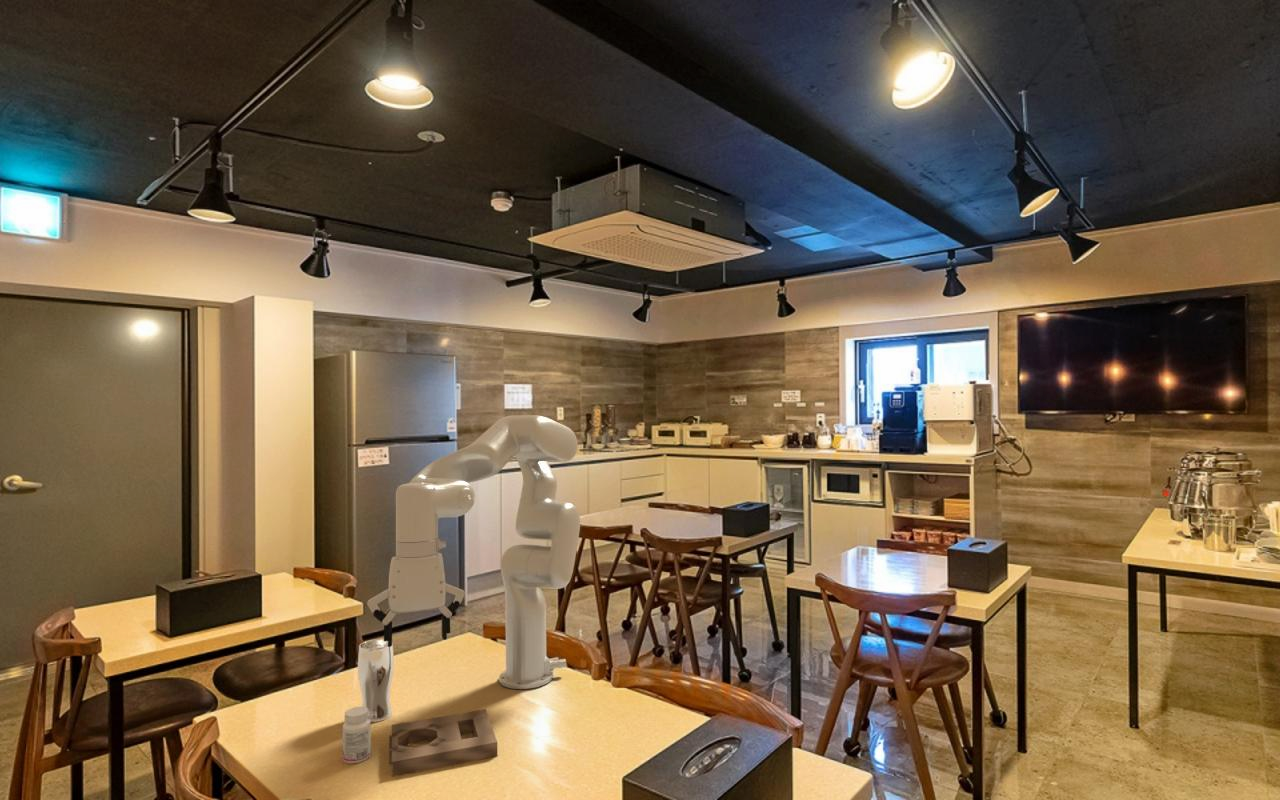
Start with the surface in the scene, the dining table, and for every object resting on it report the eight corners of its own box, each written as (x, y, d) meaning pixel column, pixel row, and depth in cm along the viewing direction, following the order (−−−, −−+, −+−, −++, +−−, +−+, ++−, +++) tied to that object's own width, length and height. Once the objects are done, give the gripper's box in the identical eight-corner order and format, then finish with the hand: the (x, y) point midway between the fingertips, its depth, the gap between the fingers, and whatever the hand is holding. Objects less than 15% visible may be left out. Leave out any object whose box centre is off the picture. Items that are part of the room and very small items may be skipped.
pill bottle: (348, 751, 122) (348, 705, 122) (374, 750, 122) (374, 704, 122) (338, 765, 117) (338, 717, 117) (365, 763, 117) (365, 716, 117)
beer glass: (400, 711, 138) (400, 639, 139) (377, 725, 132) (377, 650, 132) (374, 707, 141) (374, 636, 141) (350, 721, 134) (350, 647, 135)
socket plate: (485, 721, 133) (485, 708, 133) (497, 755, 119) (497, 741, 119) (389, 738, 126) (389, 725, 127) (389, 777, 112) (389, 762, 113)
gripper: (462, 542, 129) (462, 629, 129) (367, 549, 123) (368, 641, 122) (466, 548, 122) (467, 641, 122) (366, 556, 116) (366, 654, 115)
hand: (417, 641), depth 122 cm, fingers open, 9 cm apart
